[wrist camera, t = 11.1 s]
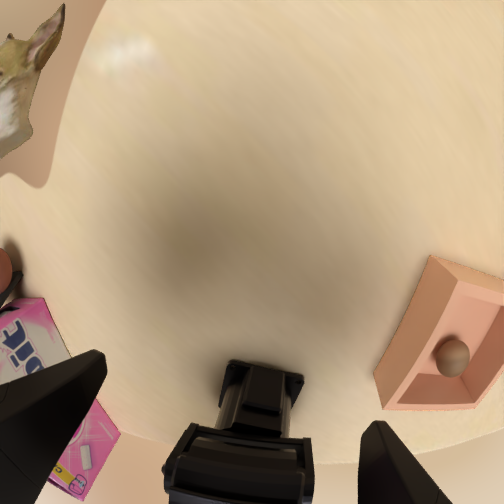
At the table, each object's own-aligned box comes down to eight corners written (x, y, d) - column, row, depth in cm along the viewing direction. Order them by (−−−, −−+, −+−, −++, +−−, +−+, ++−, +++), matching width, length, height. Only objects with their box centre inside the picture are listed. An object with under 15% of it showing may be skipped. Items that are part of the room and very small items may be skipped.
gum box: (10, 287, 25) (-64, 338, 12) (40, 284, 23) (-50, 348, 11) (86, 423, 32) (47, 482, 19) (123, 434, 30) (85, 503, 18)
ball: (458, 336, 19) (460, 370, 18) (429, 344, 20) (431, 379, 19) (474, 334, 16) (477, 372, 15) (443, 344, 17) (445, 383, 16)
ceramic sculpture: (-62, 174, 11) (-30, 26, 7) (-2, 165, 19) (23, 40, 15) (-26, 170, 10) (28, -21, 6) (53, 162, 19) (87, 12, 14)
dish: (458, 378, 20) (474, 408, 16) (372, 370, 21) (382, 409, 17) (511, 282, 17) (540, 306, 12) (428, 253, 17) (458, 279, 13)
